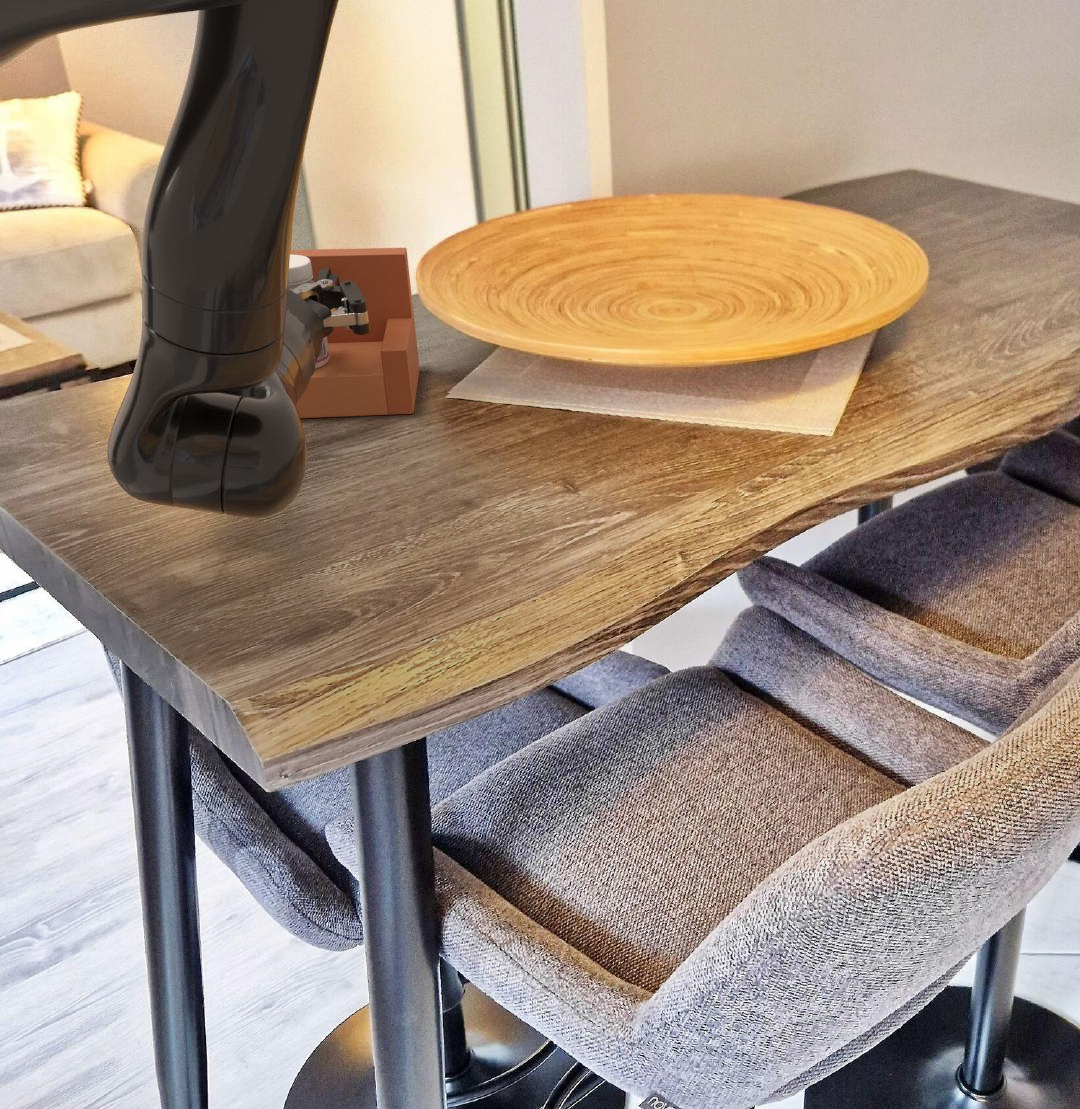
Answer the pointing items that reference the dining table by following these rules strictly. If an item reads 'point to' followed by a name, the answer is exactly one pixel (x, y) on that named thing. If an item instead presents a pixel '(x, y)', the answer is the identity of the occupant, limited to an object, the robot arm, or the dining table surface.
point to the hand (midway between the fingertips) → (293, 281)
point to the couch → (367, 339)
